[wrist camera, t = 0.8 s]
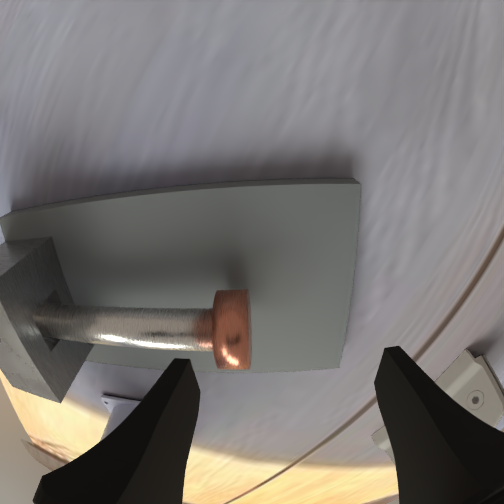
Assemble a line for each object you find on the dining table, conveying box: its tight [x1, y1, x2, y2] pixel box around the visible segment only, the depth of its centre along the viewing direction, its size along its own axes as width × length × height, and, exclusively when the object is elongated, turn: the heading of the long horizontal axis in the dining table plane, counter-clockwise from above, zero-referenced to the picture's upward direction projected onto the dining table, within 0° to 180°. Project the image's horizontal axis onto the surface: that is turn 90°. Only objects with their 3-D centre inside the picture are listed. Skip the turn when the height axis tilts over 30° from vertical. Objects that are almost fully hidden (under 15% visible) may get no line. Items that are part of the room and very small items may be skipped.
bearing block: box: [0, 236, 94, 403], centre depth 16 cm, size 10×6×6 cm, turn 4°
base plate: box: [0, 178, 361, 373], centre depth 19 cm, size 14×26×2 cm, turn 94°
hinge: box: [371, 349, 504, 464], centre depth 23 cm, size 17×5×10 cm, turn 155°
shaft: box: [33, 289, 252, 370], centre depth 16 cm, size 4×15×4 cm, turn 94°
